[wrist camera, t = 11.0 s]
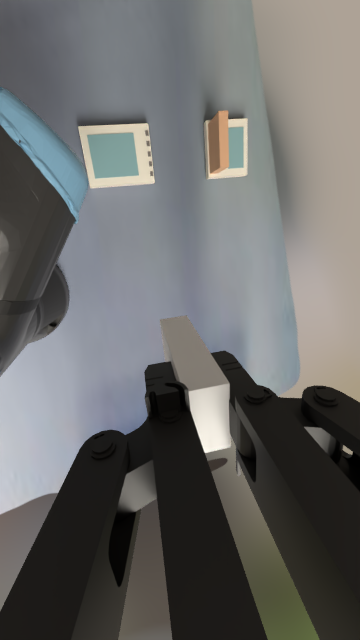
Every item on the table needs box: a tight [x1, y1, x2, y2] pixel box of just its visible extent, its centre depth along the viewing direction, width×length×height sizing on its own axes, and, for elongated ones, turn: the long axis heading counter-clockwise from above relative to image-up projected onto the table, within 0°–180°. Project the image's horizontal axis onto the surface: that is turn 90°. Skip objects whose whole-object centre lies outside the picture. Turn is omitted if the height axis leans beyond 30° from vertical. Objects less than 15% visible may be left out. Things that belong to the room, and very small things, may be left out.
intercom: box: [204, 111, 247, 179], centre depth 35 cm, size 6×7×6 cm
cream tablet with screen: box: [78, 123, 155, 188], centre depth 35 cm, size 9×7×1 cm
